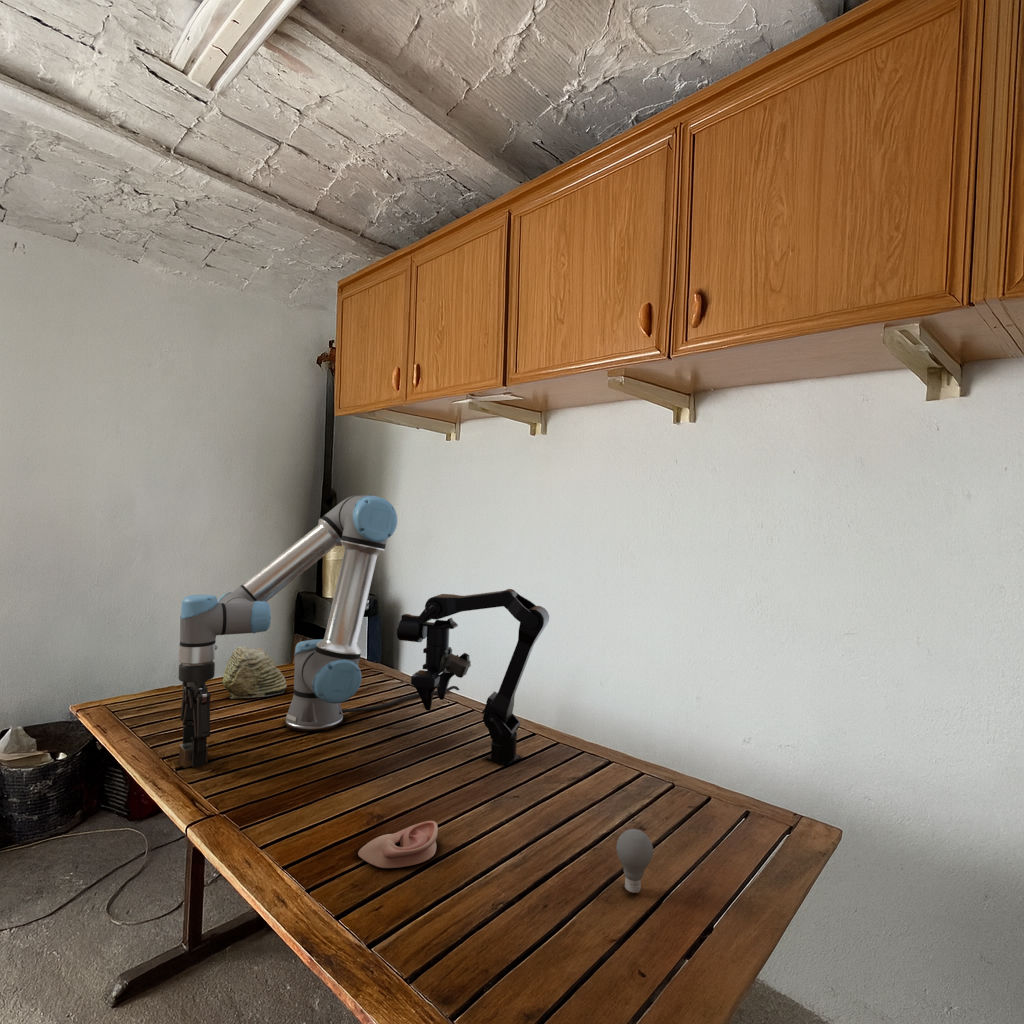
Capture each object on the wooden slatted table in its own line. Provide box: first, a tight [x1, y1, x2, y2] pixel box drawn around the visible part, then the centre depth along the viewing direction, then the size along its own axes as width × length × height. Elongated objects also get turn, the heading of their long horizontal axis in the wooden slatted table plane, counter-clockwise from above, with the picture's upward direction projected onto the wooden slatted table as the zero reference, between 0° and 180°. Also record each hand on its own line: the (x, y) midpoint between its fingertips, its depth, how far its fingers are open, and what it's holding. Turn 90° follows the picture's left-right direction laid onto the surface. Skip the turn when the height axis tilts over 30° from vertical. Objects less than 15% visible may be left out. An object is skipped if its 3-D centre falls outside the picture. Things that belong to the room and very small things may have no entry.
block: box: [178, 742, 209, 769], centre depth 148 cm, size 5×4×4 cm
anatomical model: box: [357, 820, 439, 869], centre depth 114 cm, size 13×4×12 cm
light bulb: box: [615, 828, 654, 894], centre depth 106 cm, size 6×6×10 cm
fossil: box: [222, 646, 288, 699], centre depth 198 cm, size 9×18×15 cm, turn 132°
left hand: (193, 759), depth 148 cm, fingers open, 8 cm apart
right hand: (435, 704), depth 162 cm, fingers open, 9 cm apart
